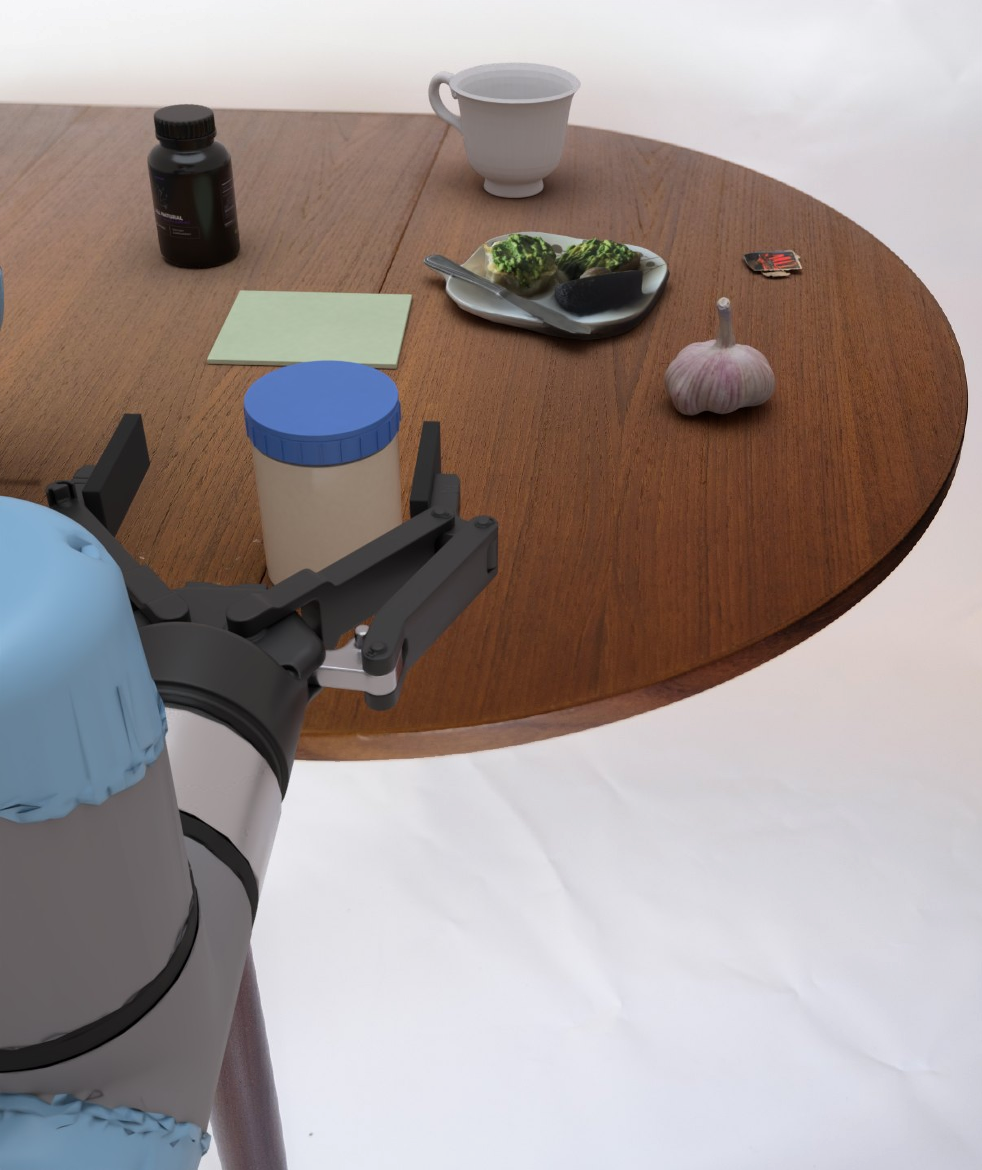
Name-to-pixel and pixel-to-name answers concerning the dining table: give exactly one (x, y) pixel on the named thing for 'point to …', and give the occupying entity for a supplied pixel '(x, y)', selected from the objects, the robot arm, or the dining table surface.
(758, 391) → the garlic bulb
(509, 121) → the teacup
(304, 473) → the jar
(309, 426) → the lid
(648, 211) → the dining table surface
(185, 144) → the supplement bottle
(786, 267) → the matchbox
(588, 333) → the salad plate
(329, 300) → the mat
